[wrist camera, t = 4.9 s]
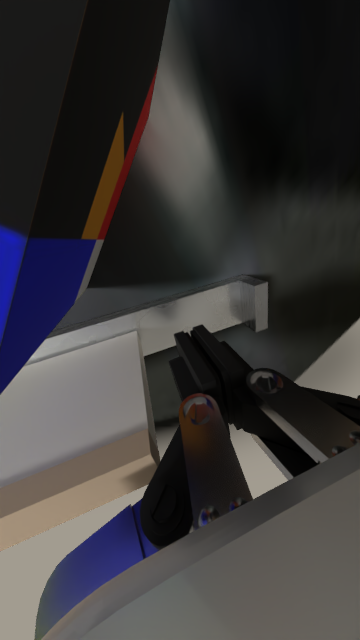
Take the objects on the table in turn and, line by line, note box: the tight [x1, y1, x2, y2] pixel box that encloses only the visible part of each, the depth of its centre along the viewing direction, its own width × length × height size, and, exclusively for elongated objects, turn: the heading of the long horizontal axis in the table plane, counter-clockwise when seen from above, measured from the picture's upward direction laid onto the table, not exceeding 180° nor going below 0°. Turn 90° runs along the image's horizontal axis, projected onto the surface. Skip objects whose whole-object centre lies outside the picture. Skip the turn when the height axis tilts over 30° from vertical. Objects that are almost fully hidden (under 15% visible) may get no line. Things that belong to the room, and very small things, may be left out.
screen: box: [0, 331, 160, 551], centre depth 8 cm, size 12×1×8 cm, turn 102°
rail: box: [23, 275, 268, 367], centre depth 12 cm, size 26×4×3 cm, turn 102°
